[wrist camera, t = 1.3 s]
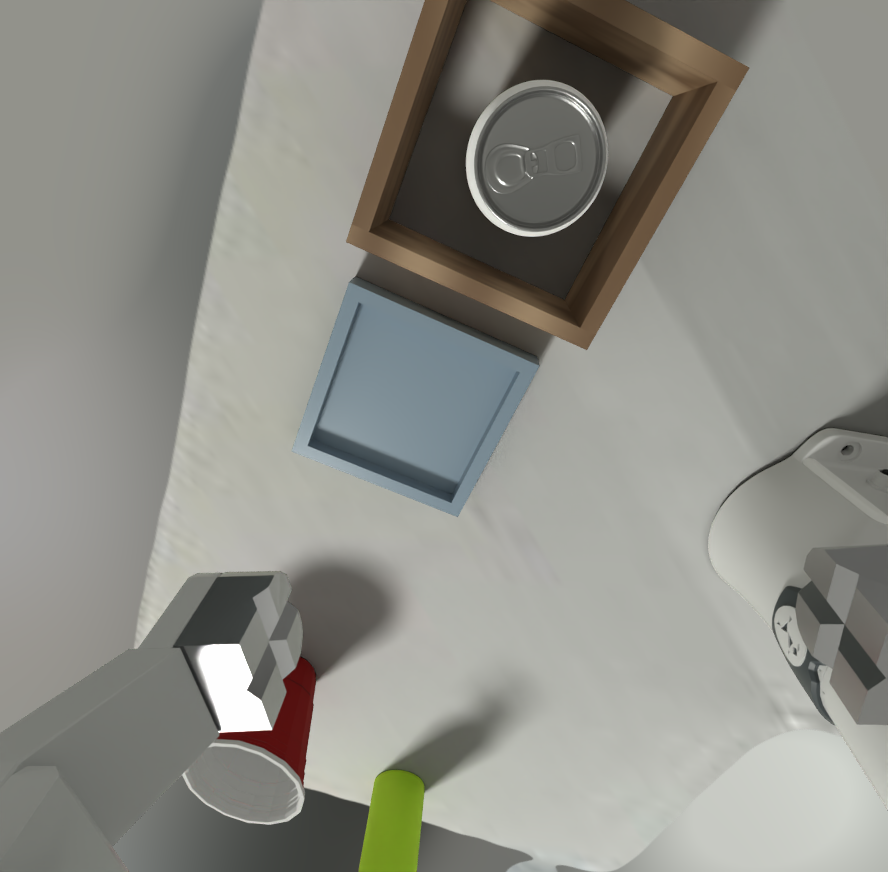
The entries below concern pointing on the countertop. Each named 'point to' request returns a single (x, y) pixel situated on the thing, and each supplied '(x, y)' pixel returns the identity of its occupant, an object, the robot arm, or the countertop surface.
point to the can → (537, 158)
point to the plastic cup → (260, 761)
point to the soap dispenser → (393, 823)
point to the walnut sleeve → (643, 198)
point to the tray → (411, 398)
